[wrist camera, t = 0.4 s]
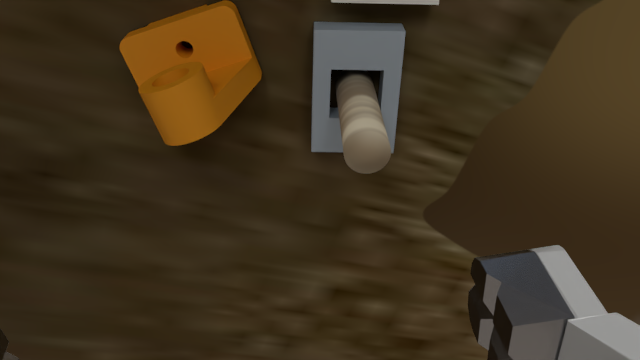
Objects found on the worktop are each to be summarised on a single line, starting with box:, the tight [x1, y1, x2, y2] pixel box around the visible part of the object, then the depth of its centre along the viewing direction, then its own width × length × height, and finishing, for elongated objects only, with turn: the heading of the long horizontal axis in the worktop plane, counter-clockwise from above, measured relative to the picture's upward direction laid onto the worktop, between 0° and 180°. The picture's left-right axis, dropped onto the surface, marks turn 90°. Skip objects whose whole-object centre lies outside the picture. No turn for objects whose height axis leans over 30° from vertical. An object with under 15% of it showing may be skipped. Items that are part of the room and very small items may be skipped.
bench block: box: [311, 22, 406, 153], centre depth 57 cm, size 12×8×2 cm, turn 178°
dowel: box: [335, 70, 391, 174], centre depth 52 cm, size 4×4×14 cm
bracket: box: [120, 0, 262, 146], centre depth 51 cm, size 11×7×12 cm, turn 108°
